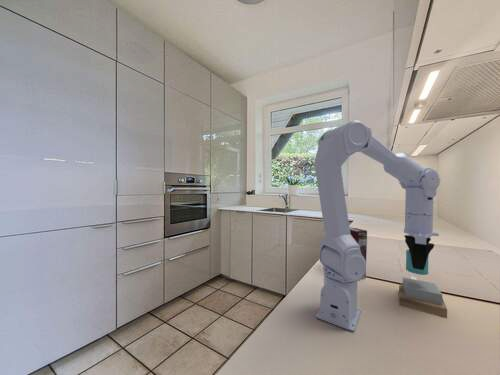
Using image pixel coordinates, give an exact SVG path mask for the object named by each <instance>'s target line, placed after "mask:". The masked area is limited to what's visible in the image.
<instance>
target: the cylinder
mask: <svg viewBox="0 0 500 375" xmlns="http://www.w3.org/2000/svg"><path fill="white" fill-rule="evenodd" d="M429 255H430V254H429ZM429 255H428V258H427V261H426V265H425V268H424V270H420V269H415V268H413V265H412V261H411V254H410V251H409V249H406V251H405V271H408V272H409V273H412V274H415V275H419V276H420V275H421V276H427V275H429V258H430V256H429Z"/></svg>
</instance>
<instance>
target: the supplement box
mask: <svg viewBox="0 0 500 375" xmlns="http://www.w3.org/2000/svg"><path fill="white" fill-rule="evenodd" d="M349 227H350V234H351V236H352V237H353V238H354V240H355V241H356V242H357V243H358V244H359V246H360V251H361V254H362V256H363V257H364V258H365V261H366V262H367V252H368V251H367V248H368V247H367V245H368V230H367V229H361V228H357V227H353V226H349ZM366 278H367V270H366V271H365V273H364V275H363V276H362V278H360V280H362V279H366Z"/></svg>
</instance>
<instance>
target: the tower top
mask: <svg viewBox="0 0 500 375" xmlns="http://www.w3.org/2000/svg"><path fill="white" fill-rule="evenodd" d="M402 285H403V289H404V292H405V295H406V297H408V298H413V299H417V300H422V301H426V302H431V303H435V304H439V305H442V298H443V293H442V292H441V291H440V289H439V287H438V286H437V285H436V283H434V282H429V281H424V280H420V279H419V280H418V279H413V278H408V277H402Z"/></svg>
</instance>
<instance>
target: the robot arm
mask: <svg viewBox="0 0 500 375" xmlns="http://www.w3.org/2000/svg"><path fill="white" fill-rule="evenodd" d="M317 147H318V148H317V151H316V154H315V158H314V170H315V176H316V184H317V189H318V197H319V203H320V209H321V215H322V222H323V223H322V224H323V228H324V234H325V235H323V237H322V238H321V239H319V244H320V247H319V251H318V259H319V262H320V263H321V264H322V265H323V268H322V269H323V272H324V273H323V277H324V278H323V285H322V288H321V290H320V301H319V302H320V307H319V309H318V311H317V312H316V314H315V317H316V319H319V320H322V321H325V322H326V323H329V324H333V325H334V326H337V327H340V328H343V329H345V330H347V331H351V332H355V330H356V327H357V324H358V322H359V318H360V314H361V311H362V310H361V308H359V307H358V282H360V280H361V279H360V278H362V276H363V275H364V273H365V271H366V272H367V260H366V261H365V258H364V257H363V256H362V254H361V251H360V246H359V244H358V243H357V242H356V241H355V240H354V238H353V237H352V236H351V234H350V227H351V226H350V221H349V215H348V213H349V212H348V208H347V200H346V193H345V186H344V181H343V175H342V174H343V173H342V166H343V165H344V164H345V163H346V162H347V160H348V159H349V157H350V156H352V155H354V154H356V153H362V154H364V155H365V156H367V157H369V158H371V160H372V159H373V160H374V161H376V162H378V163H380V164H382V165H383V171H384V172H385V173H387V174H388V175H390V176H391V177H393V178H394V179H396V180H397V181H398V182H399V184H400V186H401V188H402V189H403V190H405V197H404V198H405V201H404V202H405V205H404V206H405V208H404V229H403V233H404V234H405V235H403V236H404V241H405V244H406V246H407V248H408V250H409V251H410V254H411V261H412V265H413V268H415V269H420V270H424V268H425V265H426V261H427V258H428V259H429V257H428V255H430V253H431V251H433V249H434V247H435V244H434V243H432V242H431V241H432V240H431V239H432V238H433V237H439V235H440V233H439V232H438V231H433V230H434V198H436V195H437V192H438V191H437V190H438V188H439V186H440V185H441V178H440V175H439V173H438V172H437V170H435V169H434V168H432V167H424V166H422V165H421V164H420V163H419V162H417V161H415V160H413V159H412V158H411V157H409V154H407V153H406V152H396V153H394V152H393V151H392V150H391V149H389V147H387V146H386V145H385V144H383V143H382V142H381V141H380V140H379V139H378V138H376V137H375V136H373V133H372V128H371V127H370V126H367V125H366V124H365V123H364V122H362V121H360V120H358V119H357V120H356V119H354V120H351V121H348V122H347V123H345V124H342V125H340V126H338V127H334V128H333V129H329V130H326V131H325V132H323V134H322V135H321V136H320V137H319V138H318V139H317ZM431 237H432V238H431ZM430 242H431V243H430Z"/></svg>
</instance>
